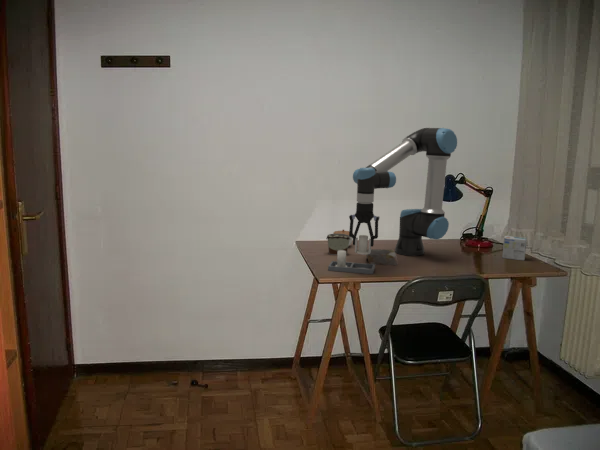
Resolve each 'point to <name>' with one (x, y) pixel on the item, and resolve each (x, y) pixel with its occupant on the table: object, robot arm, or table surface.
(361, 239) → the white pillar candle
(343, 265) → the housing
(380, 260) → the geological specimen
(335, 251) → the food container
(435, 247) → the table surface
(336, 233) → the lidded jar
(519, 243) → the light bulb box
